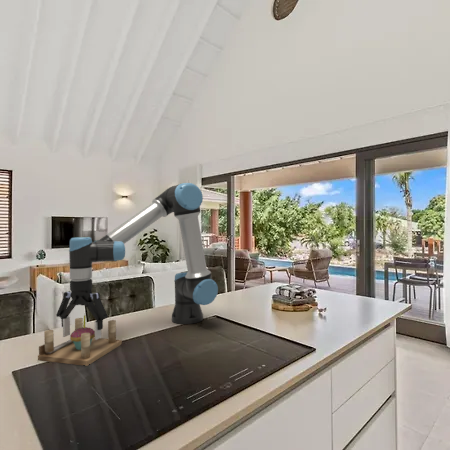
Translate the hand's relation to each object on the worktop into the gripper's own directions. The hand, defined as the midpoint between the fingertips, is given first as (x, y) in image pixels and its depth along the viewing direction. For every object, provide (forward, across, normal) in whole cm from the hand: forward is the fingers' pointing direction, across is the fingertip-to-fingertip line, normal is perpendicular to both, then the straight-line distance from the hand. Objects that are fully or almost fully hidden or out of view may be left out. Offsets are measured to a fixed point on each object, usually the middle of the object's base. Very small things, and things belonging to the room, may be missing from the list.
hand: (82, 337), depth 119 cm
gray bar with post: (+3, +8, +2) cm, 8 cm away
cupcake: (+4, 0, 0) cm, 4 cm away
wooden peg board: (+5, 0, 0) cm, 5 cm away
